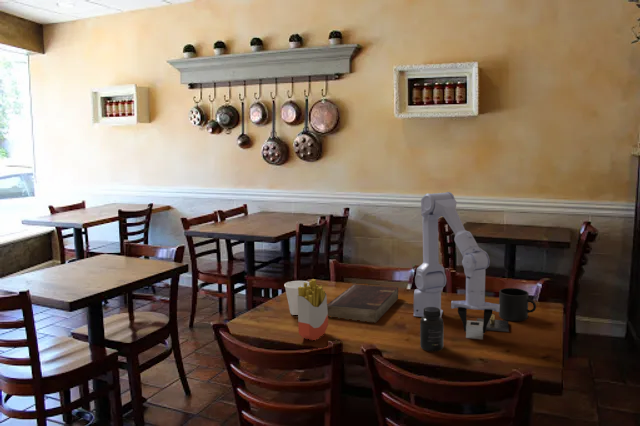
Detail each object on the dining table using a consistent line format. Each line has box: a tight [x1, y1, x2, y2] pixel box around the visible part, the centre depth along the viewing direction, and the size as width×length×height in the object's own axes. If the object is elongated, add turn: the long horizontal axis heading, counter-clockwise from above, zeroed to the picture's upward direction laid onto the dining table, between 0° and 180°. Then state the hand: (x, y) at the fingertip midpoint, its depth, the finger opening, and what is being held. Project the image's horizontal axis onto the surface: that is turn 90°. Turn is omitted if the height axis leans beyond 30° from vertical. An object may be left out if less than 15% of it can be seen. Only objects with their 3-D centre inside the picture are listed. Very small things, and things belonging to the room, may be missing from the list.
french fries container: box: [297, 278, 329, 341], centre depth 166 cm, size 5×11×18 cm, turn 147°
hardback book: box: [327, 284, 399, 324], centre depth 196 cm, size 29×19×5 cm, turn 156°
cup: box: [284, 280, 309, 316], centre depth 190 cm, size 10×10×11 cm
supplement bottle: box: [419, 307, 445, 353], centre depth 156 cm, size 7×7×12 cm
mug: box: [498, 287, 537, 322], centre depth 180 cm, size 9×12×9 cm
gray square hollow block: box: [465, 319, 484, 340], centre depth 165 cm, size 5×5×4 cm
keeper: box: [476, 313, 510, 333], centre depth 173 cm, size 10×8×4 cm
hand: (474, 331), depth 165 cm, fingers closed on gray square hollow block, 5 cm apart
